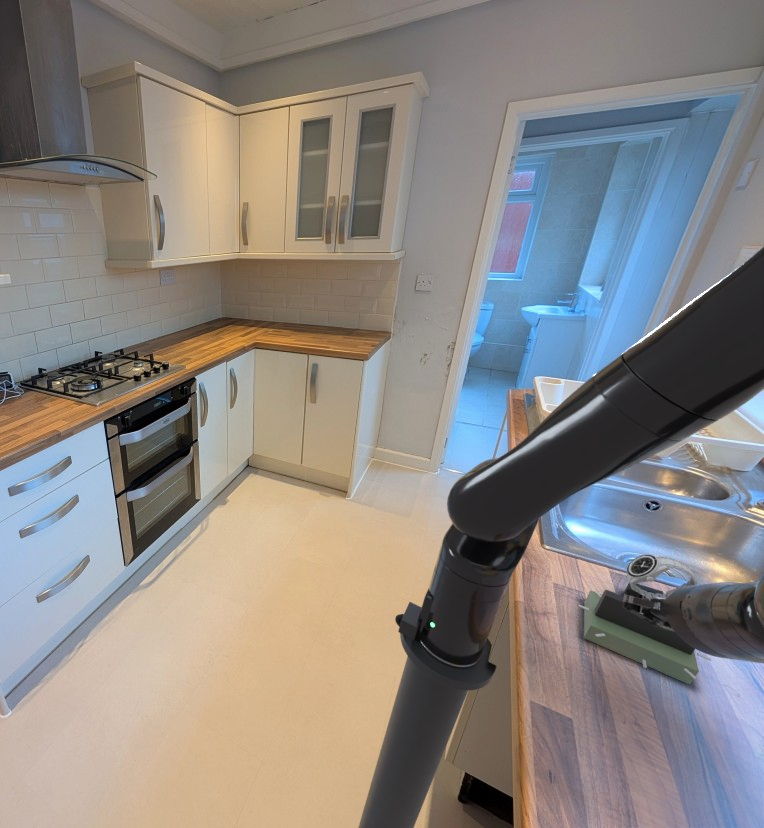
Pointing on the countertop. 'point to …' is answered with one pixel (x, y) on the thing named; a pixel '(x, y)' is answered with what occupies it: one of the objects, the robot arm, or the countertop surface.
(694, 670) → the dial panel
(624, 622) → the pointer
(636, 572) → the watch
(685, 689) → the countertop surface
